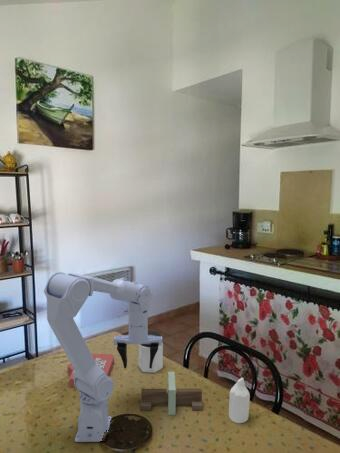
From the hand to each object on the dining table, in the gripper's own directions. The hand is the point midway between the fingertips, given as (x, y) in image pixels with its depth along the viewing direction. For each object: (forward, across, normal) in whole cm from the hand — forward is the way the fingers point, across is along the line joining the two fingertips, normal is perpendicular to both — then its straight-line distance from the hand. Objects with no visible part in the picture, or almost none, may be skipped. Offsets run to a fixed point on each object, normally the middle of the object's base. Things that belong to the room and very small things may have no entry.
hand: (138, 366), depth 104 cm
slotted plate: (+10, -10, +3) cm, 15 cm away
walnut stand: (+10, -10, +3) cm, 15 cm away
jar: (+10, -3, -19) cm, 22 cm away
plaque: (+11, +18, -15) cm, 26 cm away
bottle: (+10, -29, +8) cm, 32 cm away
